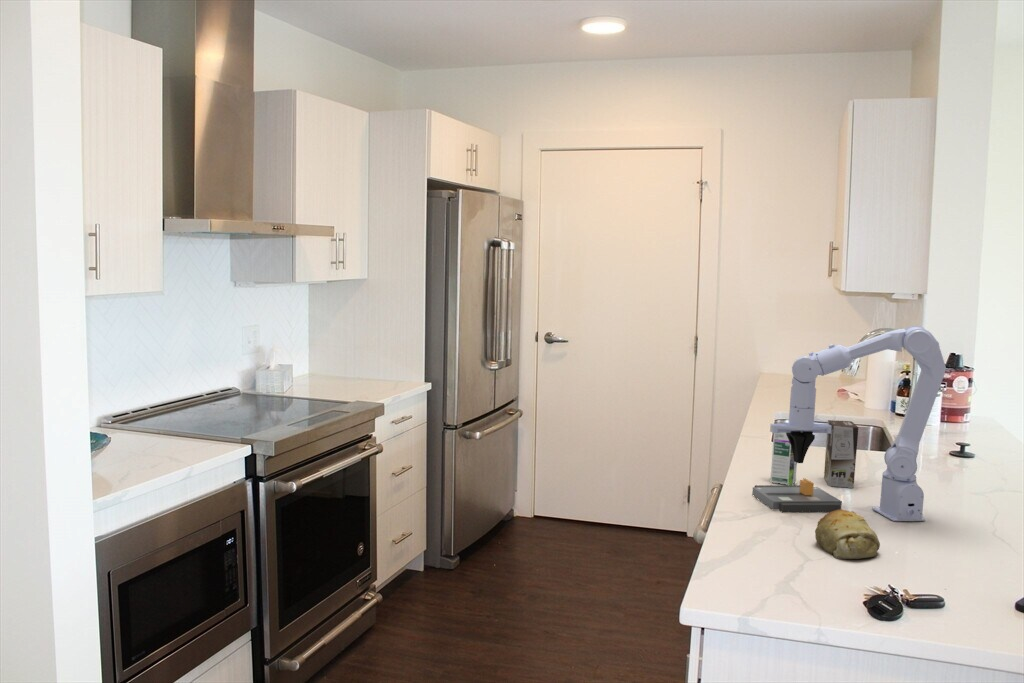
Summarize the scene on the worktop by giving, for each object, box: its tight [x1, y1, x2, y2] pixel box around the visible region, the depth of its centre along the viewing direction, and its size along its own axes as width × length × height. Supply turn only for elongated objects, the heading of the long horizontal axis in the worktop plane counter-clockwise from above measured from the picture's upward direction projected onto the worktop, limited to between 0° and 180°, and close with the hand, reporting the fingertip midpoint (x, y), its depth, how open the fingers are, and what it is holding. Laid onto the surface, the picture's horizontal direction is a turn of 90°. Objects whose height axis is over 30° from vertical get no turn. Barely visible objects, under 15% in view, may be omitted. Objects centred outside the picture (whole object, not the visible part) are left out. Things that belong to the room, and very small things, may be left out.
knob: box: [799, 477, 815, 495], centre depth 207 cm, size 3×2×3 cm, turn 7°
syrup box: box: [769, 433, 798, 485], centre depth 225 cm, size 6×6×14 cm
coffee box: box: [823, 419, 860, 489], centre depth 226 cm, size 9×6×16 cm
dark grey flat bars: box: [754, 484, 840, 513], centre depth 207 cm, size 16×14×2 cm
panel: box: [751, 486, 843, 511], centre depth 207 cm, size 12×17×2 cm
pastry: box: [814, 508, 881, 560], centre depth 174 cm, size 14×12×8 cm
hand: (798, 462), depth 206 cm, fingers closed
